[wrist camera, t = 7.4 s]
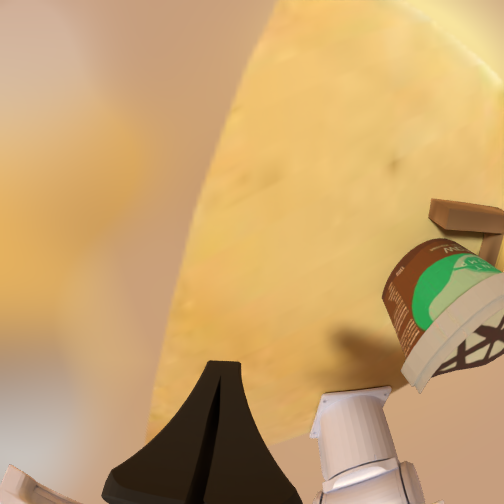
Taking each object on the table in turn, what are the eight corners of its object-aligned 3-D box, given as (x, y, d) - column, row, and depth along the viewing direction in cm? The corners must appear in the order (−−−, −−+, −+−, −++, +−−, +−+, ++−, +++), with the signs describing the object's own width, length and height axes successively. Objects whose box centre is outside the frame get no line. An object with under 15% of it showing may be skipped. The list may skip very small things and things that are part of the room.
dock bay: (462, 321, 23) (475, 338, 20) (398, 329, 23) (409, 350, 20) (498, 207, 18) (517, 218, 15) (431, 198, 18) (451, 209, 16)
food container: (490, 223, 19) (567, 277, 9) (476, 284, 21) (536, 349, 12) (373, 226, 19) (447, 306, 10) (365, 299, 22) (411, 396, 13)
